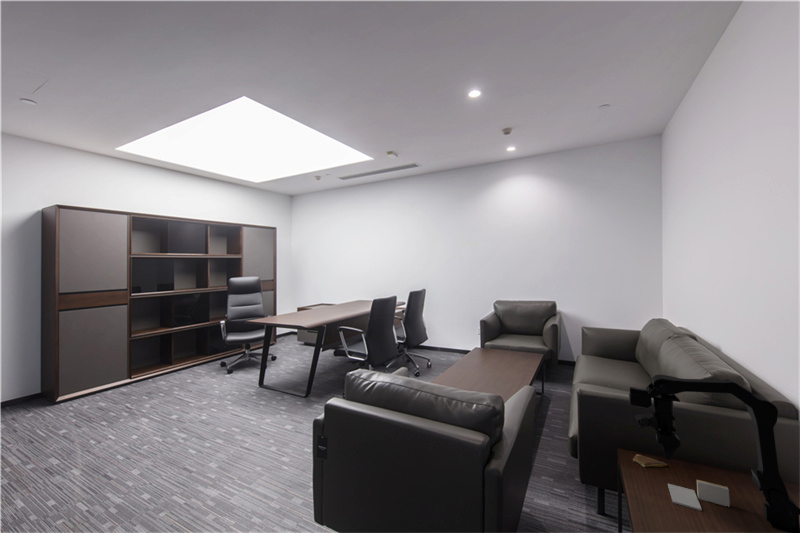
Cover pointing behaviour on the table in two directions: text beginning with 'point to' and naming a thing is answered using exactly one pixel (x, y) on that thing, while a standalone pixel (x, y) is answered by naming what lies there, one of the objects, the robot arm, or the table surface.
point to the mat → (684, 497)
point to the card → (713, 493)
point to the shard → (648, 461)
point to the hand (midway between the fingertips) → (665, 453)
